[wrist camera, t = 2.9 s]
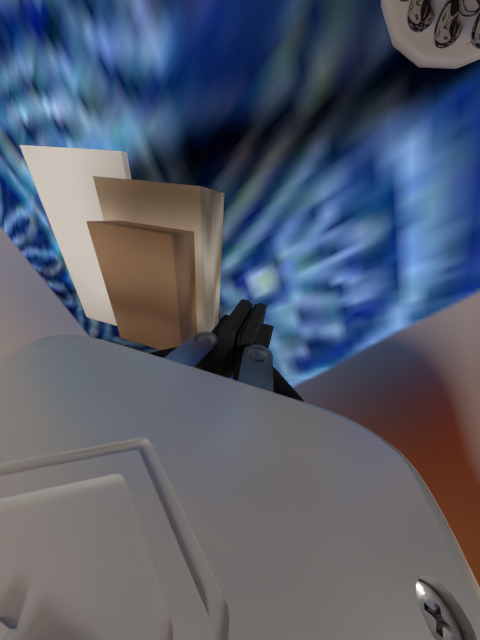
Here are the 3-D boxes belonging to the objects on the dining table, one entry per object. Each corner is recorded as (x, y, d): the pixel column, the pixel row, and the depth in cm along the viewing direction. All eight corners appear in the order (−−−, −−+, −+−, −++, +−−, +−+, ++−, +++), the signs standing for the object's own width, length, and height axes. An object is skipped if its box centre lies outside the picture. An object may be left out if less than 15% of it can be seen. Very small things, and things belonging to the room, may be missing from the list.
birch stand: (137, 184, 16) (92, 175, 12) (224, 193, 14) (200, 186, 11) (158, 322, 23) (134, 340, 20) (217, 337, 21) (202, 360, 18)
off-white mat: (28, 147, 17) (19, 145, 16) (127, 153, 15) (120, 151, 14) (90, 315, 26) (86, 317, 26) (157, 334, 24) (154, 336, 24)
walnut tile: (119, 220, 13) (86, 221, 11) (194, 231, 12) (171, 234, 10) (141, 323, 18) (120, 338, 16) (197, 339, 17) (182, 356, 15)
